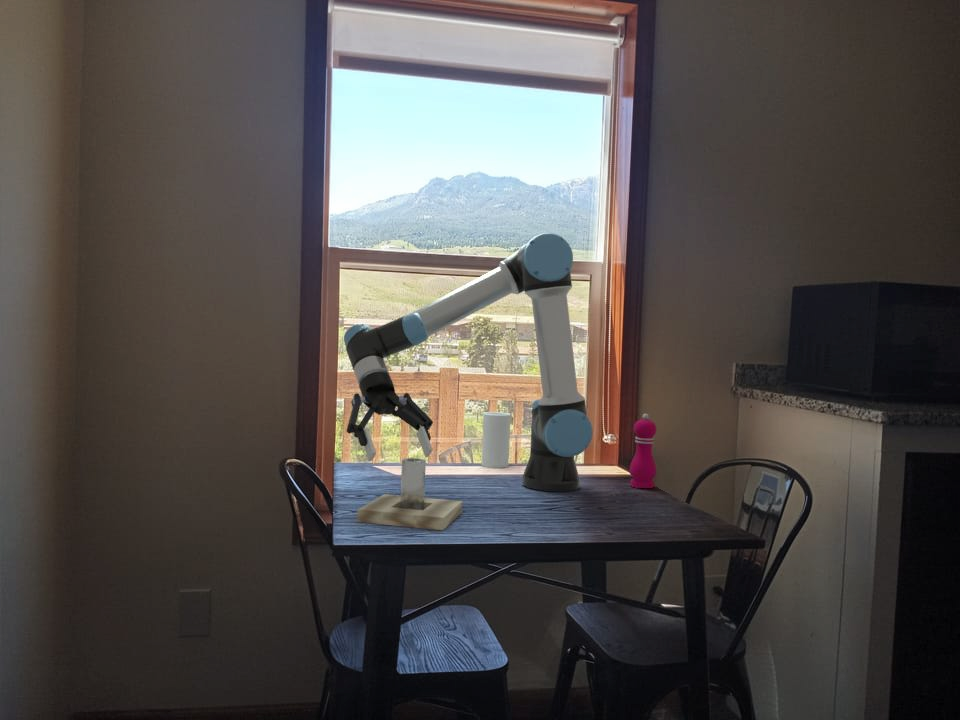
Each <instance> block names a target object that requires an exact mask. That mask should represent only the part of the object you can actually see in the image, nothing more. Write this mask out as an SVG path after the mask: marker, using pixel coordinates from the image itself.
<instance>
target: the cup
mask: <svg viewBox="0 0 960 720" xmlns="http://www.w3.org/2000/svg"><path fill="white" fill-rule="evenodd" d="M511 415H512V414H511V413H509V412H500V411H484V412H483V418H482V419H483V420H482V440H481V441H482V442H481V443H482V445H481V466H482V467H484V468H491V469H504V468H509V464H510V462H509V457H510V437H511V436H510V435H511V418H512V417H511Z"/></svg>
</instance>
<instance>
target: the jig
mask: <svg viewBox="0 0 960 720" xmlns="http://www.w3.org/2000/svg"><path fill="white" fill-rule="evenodd" d="M400 500H401V494H400V495H398V494H388V493H387V494H386V493H385V494H382V495H380V496H379V497H377V498H375V499H373V500H372V501H370V502H369V503H367V504H365V505H363V506H361V507H360V508H357V512H356V513H357V514H356V517H357V519H356V522H357V523H366V524H374V525H375V524H377V525H385V526H386V525H388V526H395V527H397V526H398V527H407V528H415V529H416V528H417V529H426V530H435V531H436V530H437V531H444V530H445V529H446V528H447V527H448V526H450V525H451V523H453V522H454V521H455V520H456V519H457V518H458V517H459V516H460V515H461V514H462V513H463V500H454V499H453V500H452V499H445V498H444V499H442V498H441V499H440V498H430V497H424V510H415V509H404V508H400Z"/></svg>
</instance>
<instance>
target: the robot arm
mask: <svg viewBox="0 0 960 720" xmlns="http://www.w3.org/2000/svg"><path fill="white" fill-rule="evenodd" d="M573 262H574V255H573V250H572V247H571V246H570V244H569V243H568V241H567V240H566V239H565V238H563V237H562V236H560V235H559V234H556V233H552V232H551V233H550V232H545V233H540V234H536V235H535V236H532V237H531V238H530V239H528V240H527V242H526V243H524V244H523V245H522V246H520V248H519V249H518V250H516V251H515V252H514V253H513V254H511V255H510V256H508V257H506V258H505V259H503V260H501V261H500V262H499V265H498V267H496V268H494V269H492V270H490V271H489V272H487V273H485V274H483V275H481V276H479V277H478V278H475V279H473V280H472V281H470V282H467V283H466V284H464V285H462V286H460V287H458V288H456V289H454V290H452V291H451V292H449V293H447V294H445V295H443V296H441V297H439V298H438V299H435V300H434V301H432V302H430V303H428V304H427V305H424V306H422V307H421V308H419V309H417V310H415V311H413V312H411V313H409V314H405V315H403V316H401V317H399V318H397V319H393V320H392V321H389V322H387V323H385V324H382V325H380V326H377V327H373V328H372V327H371V326H370V325H368V324H366V323H362V324H359V323H358V324H354V325H352V326H350V327H349V328H347V330H346V331H345V333H344V336H343V341H344V345H345V352H346V353H347V355H348V359H349V361H350V364H351V367H352V370H353V372H354V375H355V378H356V382H357V384H358V387H359V390H360V393H361V395H362V396H361V395H360V394H359V393H357V392H356V393H354V395H353V397H352V399H351V402H350V404H351V406H352V408H351V412H350V416H349V418H348V419H349V420H348V423H347V428H346V433H348V434H352V433H353V436H354V438H357V439H358V443H359V445H360V446H361V447H364V450H365V453H366V457H367V460H368V461H369V462H370V461H373V460H374V458H375V456H376V454H377V450H376V448H375V445H374V443H373V439H372V436H371V433H370V430H369V428H365V427H366V426H367V425H368V423H369V422H370V421H371V420H370V419H371V418H372V417H373V415H374V414H377V415H379V416H382V415H393V416H394V417H395V418H397V417H398V418H399V419H400V420H401V421H403V422H405V423H406V424H408V426H410V427H411V428H413V429H414V430H415V431H416V436H417V439H418V441H419V444H420V447H421V450H422V452H423V455H424V457H425V458H429V456H430V455H431V454H432V453H433V446H432V444H431V439H432V438H431V435H430V432H429V430H430V429H431V427H432V425H433V423H434V421H433V420H432V419H431V418H430V417H429V416H428V415H427V414H426V412H425V411H423V410H422V409H421V407H419V405H418V404H417V403H416V402H415V401H414V400H413V399H412V397H411V395H410V394H409V393H408V392H405V393H404V394H403V395H398V394H397V393H396V391H395V390H396V389H395V386H394V382H393V380H392V377H391V375H390V372H389V371H390V370H389V369H388V367H387V365H386V362H385V358H387V357H390V356H392V355H395V354H398V353H400V352H402V351H405V350H408V349H410V348H412V347H415V346H416V347H417V346H418V345H420V344H421V343H425V342H426V341H427V340H428V339H429V338H430V337H431V336H433V335H435V334H437V333H438V332H441V331H442V330H444V329H446V328H449V327H450V326H451V325H454V324H455V323H458V322H460V321H461V320H463V319H465V318H467V317H469V316H470V315H471V316H472V314H474V313H476V312H479V311H480V310H482V309H484V308H486V307H488V306H490V305H492V304H494V303H496V302H498V301H499V300H501V299H503V298H505V297H507V296H509V295H511V294H513V295H514V294H515V295H519V294H521V293H522V292H524V294H525V295H527V296H528V297H529V298H530V299H531V305H532V312H533V319H534V320H533V322H534V331H535V338H536V348H537V356H538V364H539V373H540V382H541V388H542V389H541V390H542V396H541V398H538V399H535V400H534V401H533V402H532V408H531V411H530V412H531V426H530V428H531V431H530V450H529V451H530V453H529V458H528V461H527V464H526V466H525V469H524V472H523V474H522V480H521V481H522V482H521V483H522V484H523V485H524V487H525V486H526V488H528V489H531V488H532V490H536V489H537V490H538V491H543V490H544V491H545V492H573V491H576V490H579V488H580V481H581V480H580V476H579V472H578V469H577V464H576V460H575V457H576V456H578V455H580V454H583V452H584V451H586V450H587V449H588V447H589V446H590V444H591V442H592V440H593V435H594V429H593V426H592V423H591V421H590V418H589V416H588V415H587V406H586V397H584V396H583V395H582V394H580V393H579V391H578V382H577V374H576V367H575V366H576V365H575V358H574V349H573V340H572V331H571V330H572V329H571V321H570V312H569V305H568V297H567V296H568V293H569V292H570V290H571V289H572V288H573V284H572V283H573V282H572V275H571V269H572V267H573ZM363 404H364V405H365V406H366V407H368V408H369V409H368V410H367V412H366V413H365V415H364V416H363V417H362V419H361V420H360V423H358V424H357V420H358V417H359V412H360V409H361V406H362V405H363ZM396 407H397V409H396ZM522 484H521V485H522ZM523 485H522V486H523ZM537 490H536V491H537Z"/></svg>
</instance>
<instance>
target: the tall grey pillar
mask: <svg viewBox="0 0 960 720" xmlns="http://www.w3.org/2000/svg"><path fill="white" fill-rule="evenodd" d="M426 461H427V460H426V459H424V458H413V457H411V458H402V459H401V474H400V475H401V477H400V479H401V481H400V496H401V500H400V508H404V509H415V510H424V498H425V492H426V488H425V487H426V464H427V463H426Z"/></svg>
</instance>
